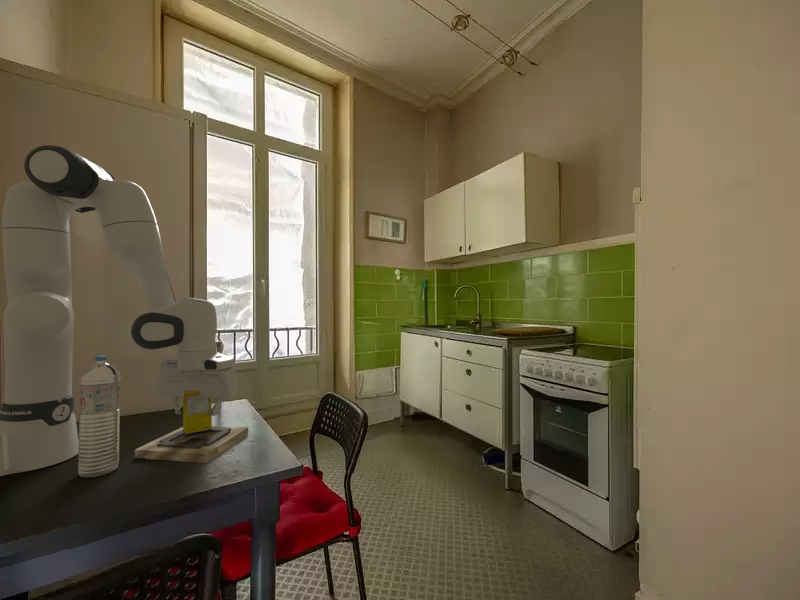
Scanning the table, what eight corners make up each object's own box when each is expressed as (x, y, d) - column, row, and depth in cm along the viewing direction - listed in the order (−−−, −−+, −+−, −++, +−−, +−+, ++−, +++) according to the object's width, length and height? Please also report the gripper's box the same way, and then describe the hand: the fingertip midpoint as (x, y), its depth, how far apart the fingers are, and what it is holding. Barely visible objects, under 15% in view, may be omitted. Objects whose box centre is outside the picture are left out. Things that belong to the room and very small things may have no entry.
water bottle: (87, 466, 80) (89, 354, 80) (124, 462, 82) (125, 353, 82) (70, 481, 74) (73, 359, 74) (111, 476, 76) (113, 357, 76)
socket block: (134, 458, 85) (135, 447, 85) (188, 431, 102) (189, 422, 102) (205, 463, 82) (205, 452, 82) (248, 434, 100) (248, 425, 100)
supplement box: (208, 425, 97) (208, 385, 97) (211, 432, 92) (212, 389, 92) (182, 430, 93) (182, 388, 93) (184, 437, 88) (185, 393, 88)
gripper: (151, 361, 91) (150, 416, 91) (226, 363, 88) (225, 420, 88) (170, 357, 97) (169, 408, 97) (240, 359, 94) (240, 412, 94)
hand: (196, 414), depth 92 cm, fingers closed on supplement box, 8 cm apart
